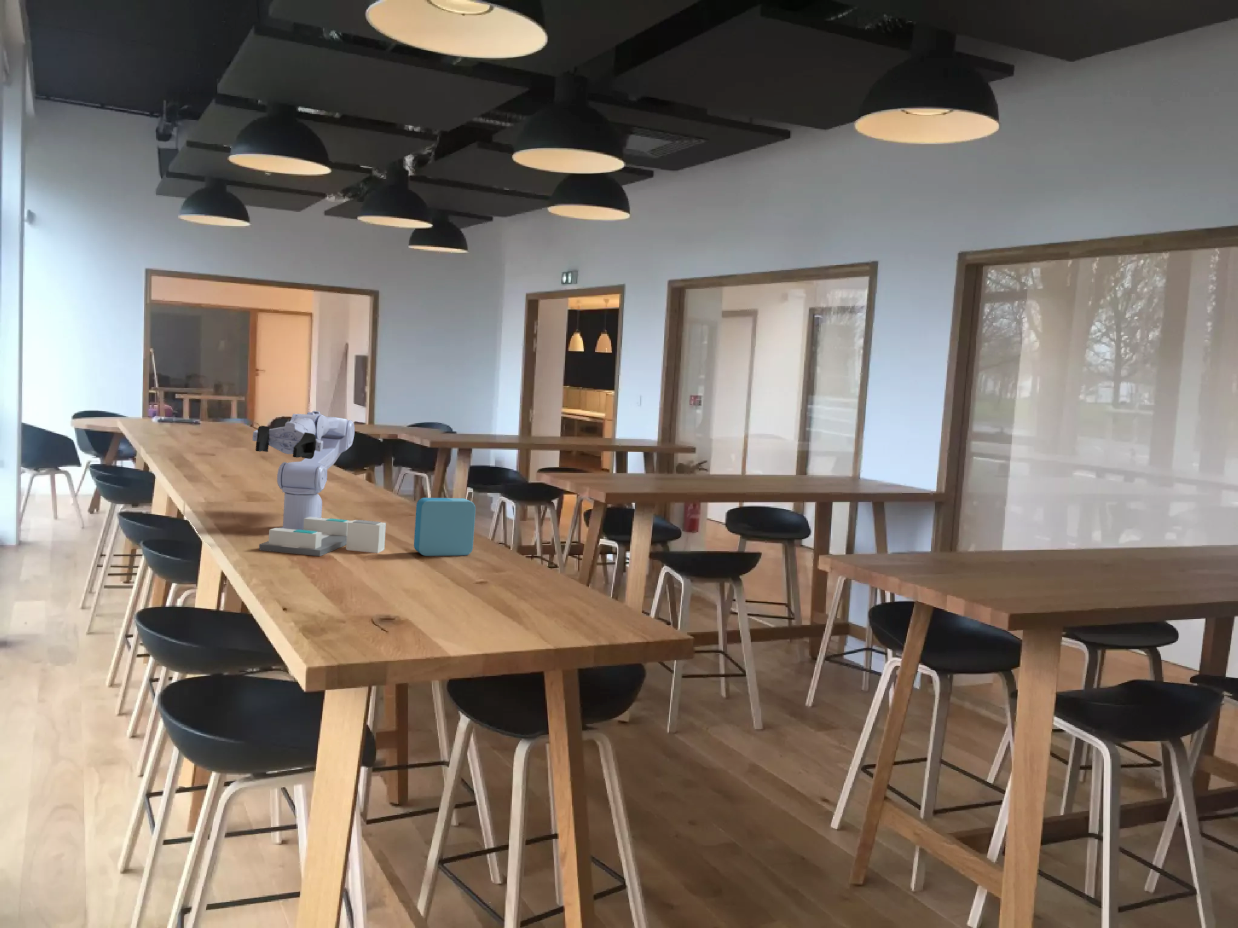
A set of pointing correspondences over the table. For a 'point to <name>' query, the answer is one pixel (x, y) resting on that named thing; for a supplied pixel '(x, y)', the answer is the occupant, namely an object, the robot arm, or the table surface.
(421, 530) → the data package
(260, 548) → the rail board
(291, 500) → the robot arm
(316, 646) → the table surface
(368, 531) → the block
